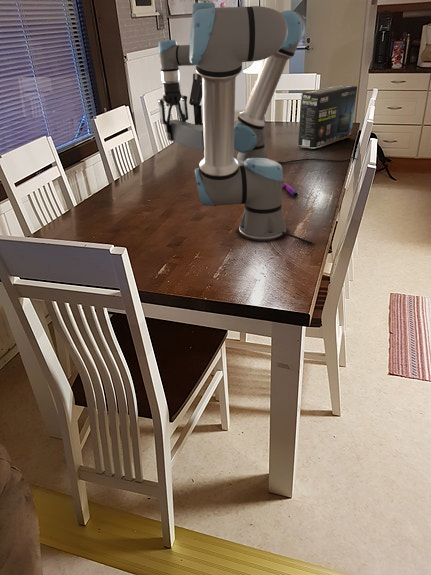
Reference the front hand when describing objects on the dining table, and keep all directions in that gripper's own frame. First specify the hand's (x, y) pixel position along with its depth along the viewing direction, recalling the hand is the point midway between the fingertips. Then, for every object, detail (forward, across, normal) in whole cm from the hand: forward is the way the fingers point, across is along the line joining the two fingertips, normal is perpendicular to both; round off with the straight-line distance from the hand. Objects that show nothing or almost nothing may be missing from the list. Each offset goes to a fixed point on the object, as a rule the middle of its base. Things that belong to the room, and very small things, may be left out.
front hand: (208, 121), depth 166 cm
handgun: (+28, -18, +22) cm, 40 cm away
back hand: (+14, -23, -31) cm, 41 cm away
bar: (+14, -18, -21) cm, 31 cm away
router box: (+28, -96, +14) cm, 101 cm away
